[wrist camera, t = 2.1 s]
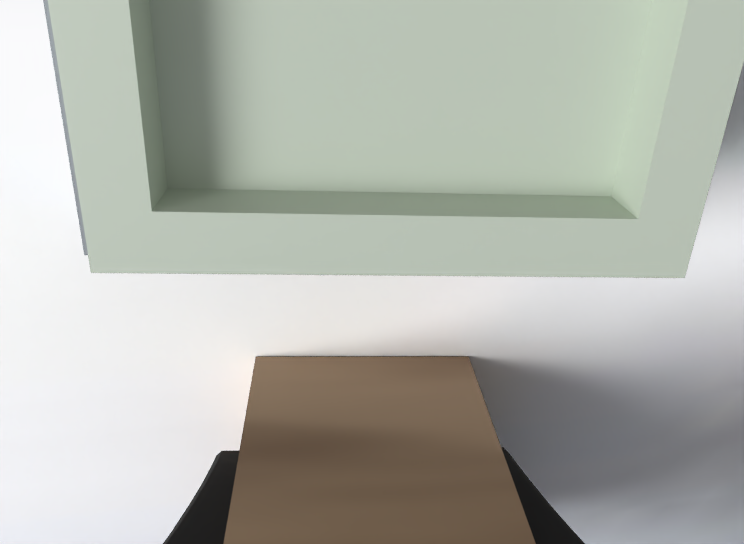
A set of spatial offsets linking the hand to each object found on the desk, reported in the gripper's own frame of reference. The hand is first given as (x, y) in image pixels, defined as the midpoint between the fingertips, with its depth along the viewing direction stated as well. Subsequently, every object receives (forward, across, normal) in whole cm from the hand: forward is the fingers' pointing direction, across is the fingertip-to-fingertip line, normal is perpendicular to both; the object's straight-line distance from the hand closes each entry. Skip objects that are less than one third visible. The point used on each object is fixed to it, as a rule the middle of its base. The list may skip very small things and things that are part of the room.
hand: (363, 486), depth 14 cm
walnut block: (+1, 0, 0) cm, 1 cm away
